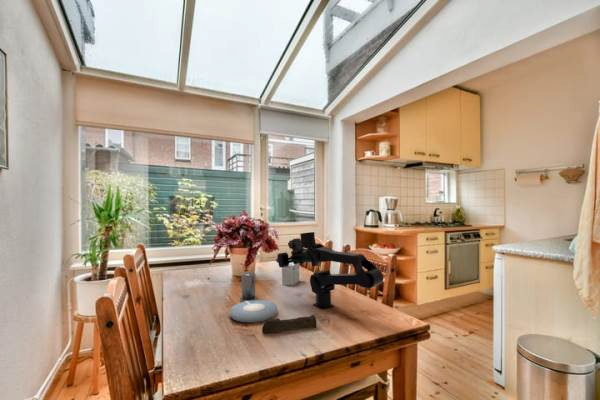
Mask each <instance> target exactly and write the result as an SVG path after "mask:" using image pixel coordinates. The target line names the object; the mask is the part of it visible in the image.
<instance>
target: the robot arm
mask: <svg viewBox="0 0 600 400" xmlns="http://www.w3.org/2000/svg"><path fill="white" fill-rule="evenodd" d="M299 235H300V236H299V238H297V237H296V238H293V239H291V240H289V241H288V243H287V245H288V247H289V249H290V250H291V251H290V253H291V256H289V255H288V252H286V251H284V252H280V253H277V258H276V259H275V261H276V263H277V264H278V267H279V268H281V269H282V267H286V266H289V263H290V262H293V263H294V264H298V263H299V265H301V264H305V263H307V264H308V263H311V267H312V268H314V267H317V266H318V267H319V265H320V264H319V263H325V262H334V263H340V264H347V265H348V264H349V265H352V266H353V268H354V271H355V272H354V273H331V269H328V270H324V269H323V270H321V271H319V270H318V271H316V272H313V274H311V275H310V277H309V284H310V288H311V292H312V293H314V294H315V303H314V302H313V304H312V305H313V306H314V307H316V308H319V309H320V310H325V309H328V308H333V307H334V306H335V305H334V304H332V299H331V298H332V297H331V296H332V293H331V291H334V290H335V286H336V285H339V286H340V285H357V286H359V287H361V288H365V289H371V288H374V287H377V286H379V285H381V284H382V283H383V282H384V274H383V273H382V271H381V270H380V268H379V269H378V267H377V266H376V265H375V264H374V263H372V262H371V261H370V260H369V259H367V258H366V256H365V255H364V254H362V253H352V252H345V251H337V250H334V249H332V248H330V247H327V246H325V245H322V243H320V242H319V243H316V238H315V237H316V236H315V231H313V232H312V231H310V232H303V233H300V234H299ZM323 286H324V287H323ZM321 287H322V288H321Z"/></svg>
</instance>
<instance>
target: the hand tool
mask: <svg viewBox="0 0 600 400" xmlns="http://www.w3.org/2000/svg"><path fill="white" fill-rule="evenodd" d="M317 326H318V325H317V317H316V315H314V314H311V315H309V316H300V317H296V318H289V319H281V318H279V317H277V318H269V319H267V320H264V323H263V325H262V329H261V334H265V335H273V334H274V335H275V334H280V333H281V332H284V331H290V330H296V329H299V330H300V329H306V328H312V327H314V328H315V329H316V328H317Z"/></svg>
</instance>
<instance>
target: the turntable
mask: <svg viewBox="0 0 600 400" xmlns="http://www.w3.org/2000/svg"><path fill="white" fill-rule="evenodd" d="M277 313H278V306H277V304H276V303H275V302H273V301H270V300H265V299H257V300H251V301H245V302H239V303H236V304H234V305H233V306H232V307H231V308H230V317H231V319H233V321H234V320H235V321H237V322H243V323H256V322H257V323H258V322H263V321H266V320H270V319H272V318H273V317H274V316H276V315H277Z"/></svg>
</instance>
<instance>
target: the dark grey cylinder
mask: <svg viewBox="0 0 600 400" xmlns="http://www.w3.org/2000/svg"><path fill="white" fill-rule="evenodd" d="M251 300H258V296H256V273H255V272H249V271H247V272H243V273H241V297H239V303H241V302H245V301H251Z"/></svg>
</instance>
